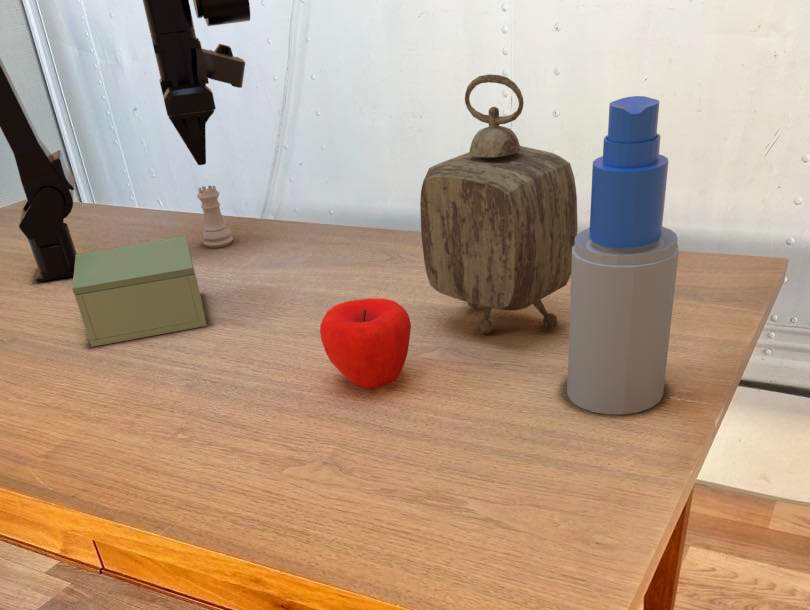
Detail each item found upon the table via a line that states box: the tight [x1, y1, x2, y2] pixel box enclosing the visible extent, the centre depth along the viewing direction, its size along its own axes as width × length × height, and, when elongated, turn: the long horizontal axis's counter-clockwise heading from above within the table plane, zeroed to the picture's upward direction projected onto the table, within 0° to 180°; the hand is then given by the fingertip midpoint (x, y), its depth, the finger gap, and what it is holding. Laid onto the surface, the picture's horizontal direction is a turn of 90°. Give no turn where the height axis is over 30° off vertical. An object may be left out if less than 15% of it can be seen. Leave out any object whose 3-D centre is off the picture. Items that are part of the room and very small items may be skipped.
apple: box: [319, 298, 412, 389], centre depth 84 cm, size 9×9×8 cm
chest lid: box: [71, 235, 195, 296], centre depth 101 cm, size 11×14×1 cm
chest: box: [74, 249, 207, 348], centre depth 103 cm, size 11×14×6 cm
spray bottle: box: [566, 95, 680, 416], centre depth 73 cm, size 9×9×25 cm
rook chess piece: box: [196, 185, 234, 249], centre depth 124 cm, size 4×4×8 cm
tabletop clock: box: [419, 74, 579, 335], centre depth 87 cm, size 14×9×25 cm, turn 47°
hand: (200, 158), depth 120 cm, fingers open, 7 cm apart
